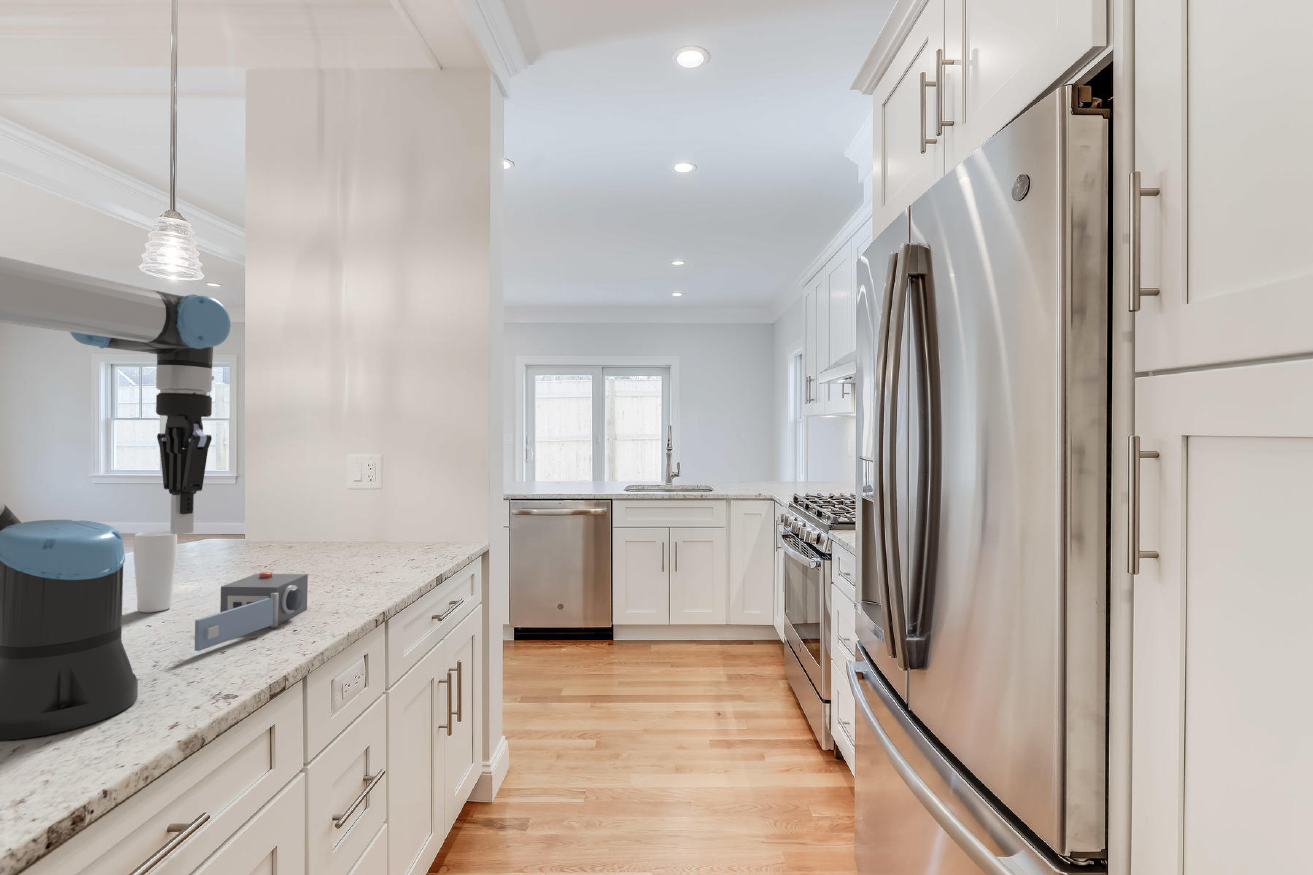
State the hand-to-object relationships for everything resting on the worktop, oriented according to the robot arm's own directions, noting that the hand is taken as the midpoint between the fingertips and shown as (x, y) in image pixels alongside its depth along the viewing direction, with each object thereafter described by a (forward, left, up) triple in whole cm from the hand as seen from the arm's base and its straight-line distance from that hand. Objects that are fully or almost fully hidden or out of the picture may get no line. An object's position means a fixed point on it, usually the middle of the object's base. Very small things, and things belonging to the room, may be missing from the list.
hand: (181, 532), depth 107 cm
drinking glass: (+18, +17, -18) cm, 31 cm away
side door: (0, -10, -18) cm, 21 cm away
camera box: (+14, -6, -18) cm, 24 cm away
